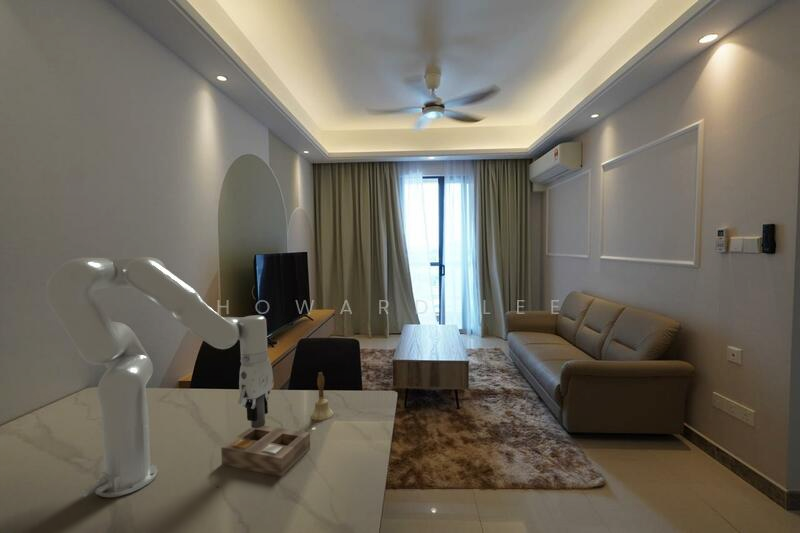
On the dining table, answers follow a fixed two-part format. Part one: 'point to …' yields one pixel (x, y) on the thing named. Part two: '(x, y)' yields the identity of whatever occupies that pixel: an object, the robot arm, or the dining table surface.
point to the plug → (259, 413)
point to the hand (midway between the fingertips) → (257, 416)
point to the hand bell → (321, 403)
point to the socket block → (266, 449)
